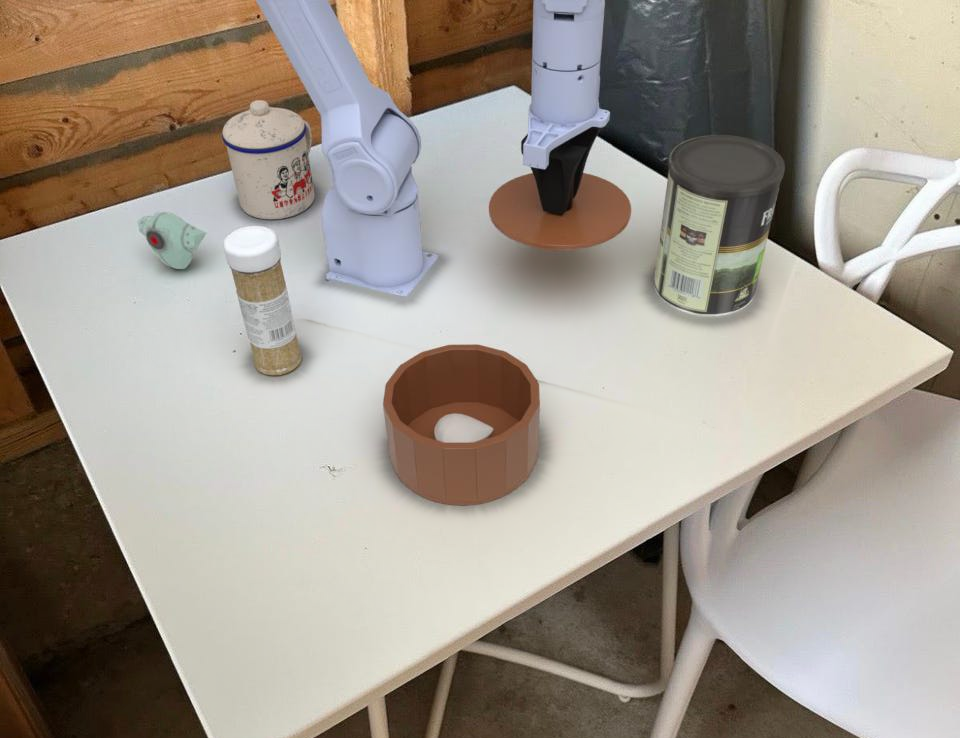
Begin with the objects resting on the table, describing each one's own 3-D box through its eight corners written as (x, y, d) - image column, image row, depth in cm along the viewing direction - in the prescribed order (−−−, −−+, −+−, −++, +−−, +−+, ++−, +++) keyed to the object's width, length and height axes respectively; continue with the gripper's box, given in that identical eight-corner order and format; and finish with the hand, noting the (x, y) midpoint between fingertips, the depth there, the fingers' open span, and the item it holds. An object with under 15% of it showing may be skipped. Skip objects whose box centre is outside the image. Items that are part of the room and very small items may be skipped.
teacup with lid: (286, 229, 103) (266, 130, 94) (221, 210, 106) (197, 112, 98) (346, 180, 110) (333, 83, 102) (284, 163, 113) (266, 68, 105)
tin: (365, 479, 76) (355, 422, 72) (430, 387, 84) (425, 330, 80) (503, 523, 73) (503, 466, 68) (558, 422, 81) (561, 365, 76)
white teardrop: (431, 431, 79) (429, 410, 78) (488, 422, 80) (487, 401, 78) (440, 467, 77) (438, 445, 75) (499, 457, 77) (498, 435, 75)
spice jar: (293, 341, 89) (268, 218, 79) (309, 368, 86) (284, 244, 77) (247, 355, 88) (215, 231, 78) (261, 383, 85) (230, 259, 75)
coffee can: (754, 265, 96) (784, 137, 86) (754, 326, 89) (787, 194, 79) (655, 256, 98) (672, 129, 88) (647, 314, 91) (665, 184, 81)
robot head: (221, 268, 98) (206, 211, 93) (197, 289, 95) (180, 232, 91) (160, 251, 100) (142, 195, 96) (135, 271, 98) (116, 215, 93)
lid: (466, 238, 86) (465, 196, 83) (519, 170, 94) (519, 130, 91) (605, 268, 82) (609, 226, 79) (647, 195, 90) (652, 153, 87)
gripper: (584, 101, 71) (574, 252, 81) (637, 31, 81) (623, 174, 90) (499, 87, 73) (500, 236, 83) (560, 20, 83) (554, 161, 92)
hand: (559, 203), depth 87 cm, fingers closed on lid, 2 cm apart
